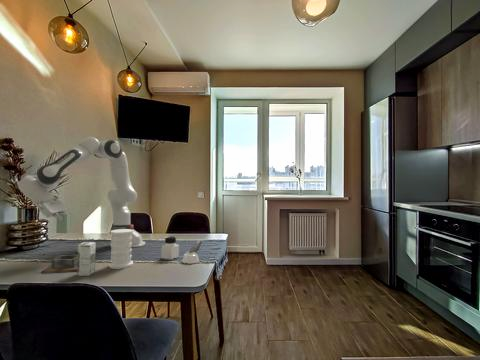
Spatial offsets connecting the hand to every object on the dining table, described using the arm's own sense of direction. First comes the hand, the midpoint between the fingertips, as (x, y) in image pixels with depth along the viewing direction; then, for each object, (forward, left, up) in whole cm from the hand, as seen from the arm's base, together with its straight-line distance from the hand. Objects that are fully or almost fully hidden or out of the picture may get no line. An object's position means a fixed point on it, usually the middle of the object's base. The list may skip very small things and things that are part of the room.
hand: (65, 219), depth 157 cm
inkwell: (-69, +7, -23) cm, 73 cm away
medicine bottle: (-56, +1, -23) cm, 60 cm away
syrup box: (-19, +25, -23) cm, 39 cm away
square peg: (+1, 0, -7) cm, 7 cm away
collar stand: (-6, +12, -23) cm, 26 cm away
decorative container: (-32, +13, -23) cm, 41 cm away
